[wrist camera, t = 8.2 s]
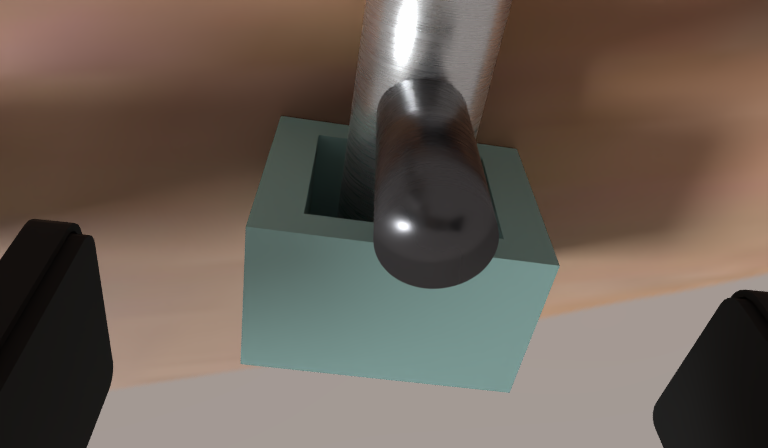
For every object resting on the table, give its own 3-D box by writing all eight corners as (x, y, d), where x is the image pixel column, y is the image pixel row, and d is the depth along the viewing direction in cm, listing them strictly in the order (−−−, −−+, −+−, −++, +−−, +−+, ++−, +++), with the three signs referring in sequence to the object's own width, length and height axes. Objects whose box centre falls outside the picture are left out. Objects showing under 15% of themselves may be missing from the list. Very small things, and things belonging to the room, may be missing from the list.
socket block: (280, 115, 24) (245, 226, 18) (516, 148, 24) (559, 265, 18) (272, 235, 27) (240, 364, 21) (482, 261, 27) (509, 392, 21)
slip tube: (411, -364, 15) (442, -535, 7) (578, -330, 15) (785, -455, 7) (334, 221, 25) (309, 429, 17) (438, 234, 25) (463, 444, 17)
